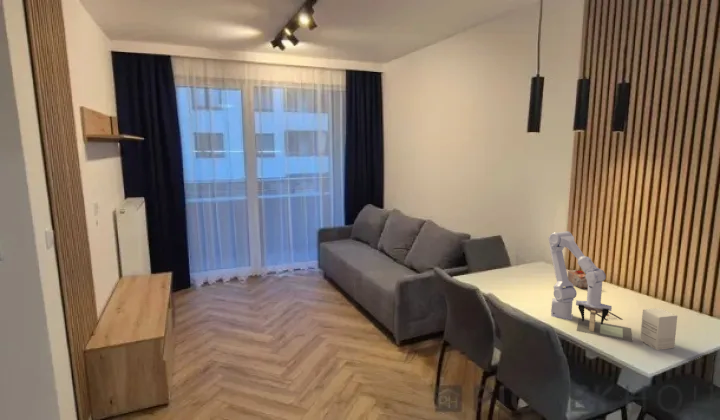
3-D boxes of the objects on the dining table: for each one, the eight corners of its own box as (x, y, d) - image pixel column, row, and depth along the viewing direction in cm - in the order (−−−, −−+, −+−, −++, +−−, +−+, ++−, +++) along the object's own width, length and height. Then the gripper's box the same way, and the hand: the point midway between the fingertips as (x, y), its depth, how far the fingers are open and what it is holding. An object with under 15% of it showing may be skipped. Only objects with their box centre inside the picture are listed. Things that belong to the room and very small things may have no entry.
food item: (591, 288, 246) (592, 273, 244) (580, 289, 244) (581, 274, 243) (575, 281, 259) (576, 267, 258) (565, 282, 258) (565, 267, 256)
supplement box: (656, 338, 181) (659, 307, 179) (674, 348, 173) (678, 315, 170) (639, 340, 180) (642, 308, 178) (656, 350, 171) (659, 317, 169)
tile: (589, 325, 194) (590, 310, 193) (594, 326, 193) (595, 311, 192) (588, 330, 189) (590, 314, 188) (594, 331, 188) (595, 315, 187)
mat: (576, 331, 189) (576, 330, 189) (578, 319, 203) (578, 318, 203) (632, 343, 178) (632, 341, 178) (631, 329, 191) (631, 328, 191)
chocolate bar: (598, 305, 218) (623, 319, 201) (598, 307, 219) (623, 321, 201) (583, 306, 218) (606, 320, 200) (583, 308, 218) (606, 322, 200)
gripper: (576, 294, 189) (574, 321, 191) (612, 300, 181) (610, 328, 183) (577, 290, 195) (575, 316, 197) (612, 295, 187) (610, 322, 189)
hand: (592, 322), depth 191 cm, fingers open, 7 cm apart
